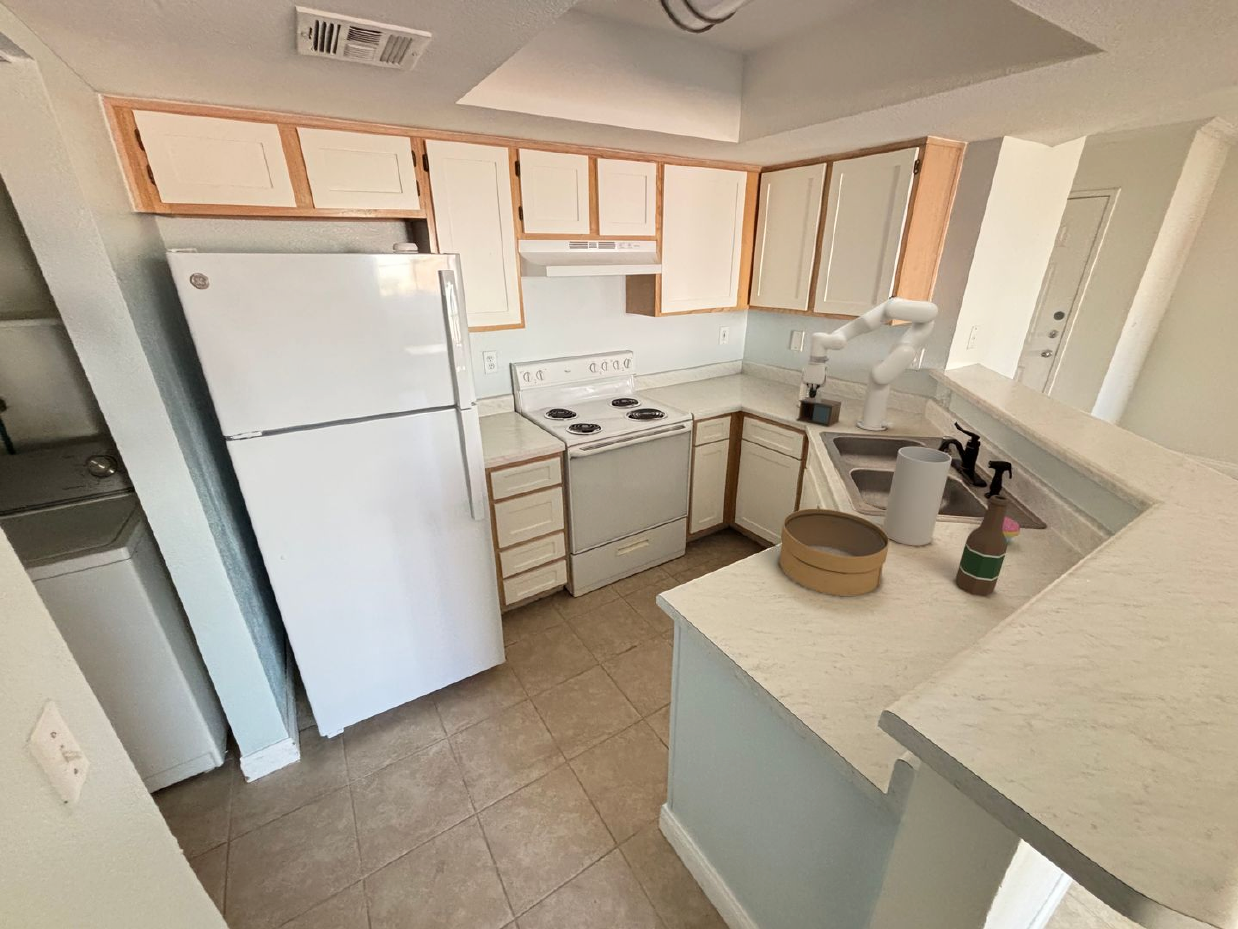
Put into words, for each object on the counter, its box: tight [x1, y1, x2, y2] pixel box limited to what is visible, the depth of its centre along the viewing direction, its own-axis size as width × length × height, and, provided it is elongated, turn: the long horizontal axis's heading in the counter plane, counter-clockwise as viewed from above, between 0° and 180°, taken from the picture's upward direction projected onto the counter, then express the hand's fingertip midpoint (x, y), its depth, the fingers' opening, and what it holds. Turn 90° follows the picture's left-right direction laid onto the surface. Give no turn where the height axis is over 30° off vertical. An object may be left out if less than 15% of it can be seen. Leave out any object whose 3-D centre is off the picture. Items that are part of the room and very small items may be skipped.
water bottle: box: [797, 365, 810, 408], centre depth 269 cm, size 7×7×25 cm
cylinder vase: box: [881, 446, 953, 547], centre depth 140 cm, size 12×12×25 cm
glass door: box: [812, 392, 831, 424], centre depth 242 cm, size 1×8×14 cm, turn 44°
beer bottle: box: [955, 494, 1011, 597], centre depth 117 cm, size 8×8×24 cm
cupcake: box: [1003, 516, 1021, 543], centre depth 139 cm, size 9×8×12 cm
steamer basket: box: [779, 508, 890, 597], centre depth 127 cm, size 25×25×11 cm
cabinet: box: [796, 396, 842, 428], centre depth 248 cm, size 12×16×10 cm
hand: (812, 397), depth 244 cm, fingers closed
